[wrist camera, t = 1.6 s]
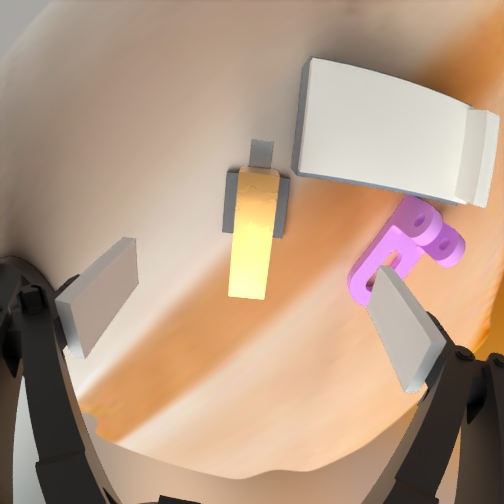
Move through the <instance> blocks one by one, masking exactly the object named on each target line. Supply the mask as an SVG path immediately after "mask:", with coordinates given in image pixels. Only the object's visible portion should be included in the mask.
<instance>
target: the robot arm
mask: <svg viewBox="0 0 504 504" xmlns="http://www.w3.org/2000/svg"><path fill="white" fill-rule="evenodd" d="M138 284H139V283H138V269H137V253H136V239H135V238H126V237H123V238H122V239H121V240H119V241H118V242H117V243H116V244H115V245H114V246H112V247H111V248H110V249H109V250H108V251H107V252H106V253H104V254H103V255H102V256H101V257H100V258H99V259H98V260H97V261H95V262H94V263H93V264H92V265H91V266H90V267H89V268H88V269H87V270H85V271H84V272H83V273H82V274H81V275H79V274H78V275H76V276H74V277H72V278H70V279H68V280H67V281H66V282H65V283H64V284H63V285H62V286H61V287H60V288H59V289H58V290H56V291H55V292H53V290H52V288H51V287H50V285H49V284H48V282H47V281H46V280H45V278H44V277H43V276H42V275H41V274H40V273H39V271H38V270H37V269H35V268H34V267H33V266H32V265H31V264H29V263H28V262H26V261H25V260H23V259H21V258H18V257H13V256H10V257H5V258H3V259H2V260H0V504H13V446H14V432H15V422H16V412H17V405H18V397H19V391H20V385H21V380H22V374H23V369H24V378H25V387H26V394H27V400H28V407H29V413H30V419H31V424H32V429H33V434H34V439H35V443H36V447H37V451H38V455H39V462H36V465H35V467H36V473H37V476H38V480H39V483H40V486H41V489H42V493H43V496H44V498H45V501H46V504H122V503H121V501H120V499H119V498H118V496H117V495H116V493H115V491H114V490H113V488H112V486H111V484H110V482H109V480H108V478H107V476H106V474H105V472H104V469H103V467H102V465H101V463H100V460H99V458H98V456H97V454H96V451H95V449H94V446H93V444H92V441H91V439H90V436H89V434H88V431H87V428H86V425H85V423H84V420H83V417H82V414H81V411H80V408H79V405H78V402H77V399H76V396H75V393H74V389H73V386H72V382H71V379H70V375H69V372H68V368H67V364H66V360H65V356H64V353H63V349H64V348H65V346H66V345H67V346H68V349H69V352H70V355H72V356H75V357H78V358H82V359H86V357H87V356H88V354H89V353H90V351H91V350H92V348H93V347H94V346H95V344H96V343H97V341H98V340H99V338H100V337H101V335H102V334H103V332H104V331H105V330H106V328H107V327H108V325H109V324H110V322H111V321H112V320H113V318H114V317H115V315H116V314H117V313H118V311H119V310H120V308H121V307H122V306H123V304H124V303H125V301H126V300H127V299H128V297H129V296H130V295H131V293H132V292H133V291H134V289H135V288H136V287H137V285H138ZM366 309H367V311H368V313H369V315H370V317H371V319H372V321H373V323H374V326H375V328H376V330H377V332H378V334H379V336H380V338H381V341H382V343H383V345H384V347H385V349H386V352H387V354H388V356H389V358H390V361H391V363H392V365H393V367H394V370H395V372H396V374H397V377H398V379H399V382H400V384H401V386H402V389H403V391H404V393H409V392H419V390H420V389H421V387H422V386H423V384H424V382H426V384H427V386H428V389H427V390H426V392H425V394H424V395H423V397H422V398H421V400H420V401H419V403H418V404H417V406H419V407H418V409H417V411H416V413H415V415H414V417H413V419H412V422H411V423H410V425H409V427H408V429H407V431H406V433H405V435H404V436H403V438H402V440H401V442H400V444H399V446H398V447H397V449H396V451H395V453H394V454H393V456H392V458H391V460H390V461H389V463H388V465H387V466H386V468H385V469H384V471H383V473H382V474H381V476H380V477H379V479H378V480H377V482H376V483H375V485H374V486H373V488H372V489H371V491H370V492H369V494H368V495H367V496H366V498H365V499H364V501H363V502H362V504H438V503H439V499H438V498H435V494H436V491H437V489H438V487H439V484H440V482H441V480H442V477H443V475H444V473H445V470H446V467H447V465H448V462H449V459H450V457H451V454H452V451H453V448H454V445H455V442H456V439H457V436H458V433H459V429H460V426H461V442H460V460H459V472H458V481H457V489H456V497H455V503H454V504H504V356H503V355H502V354H498V353H491V354H490V355H489V356H488V358H487V360H486V361H480V360H475V356H474V354H473V353H472V352H471V351H470V350H469V349H467V348H465V347H463V346H458V345H455V344H454V342H453V341H452V340H451V338H450V337H449V335H448V334H447V332H446V331H444V328H443V327H442V326H441V325H440V323H439V321H438V320H437V319H436V317H434V316H433V315H432V314H431V313H429V312H426V311H425V310H424V309H423V307H422V306H421V305H420V303H419V302H418V300H417V299H416V298H415V296H414V295H413V294H412V293H411V291H410V290H409V289H408V287H407V286H406V285H405V283H404V282H403V281H402V280H401V278H400V277H399V276H398V274H397V273H396V272H395V271H394V269H393V268H392V267H389V266H380V265H379V268H378V272H377V275H376V279H375V282H374V286H373V289H372V292H371V295H370V299H369V302H368V305H367V308H366ZM141 504H201V503H198V502H192V501H187V500H181V499H176V498H171V497H166V496H162V495H160V497H159V501H158V502H149V503H141Z"/></svg>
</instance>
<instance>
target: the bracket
mask: <svg viewBox="0 0 504 504" xmlns="http://www.w3.org/2000/svg"><path fill="white" fill-rule="evenodd" d="M395 250H396V251H398V254H397V257H396V258H395V260H394V261H393V262H392V264H391V265H390V266H389V267H392V268H393V269H394V271H395V272H396V273H397V274H398V276H399V277H400V278H401V280H403V279H404V278H405V277H406V275H407V274H408V273H409V272H410V270H411V269H412V268H413V267H414V265H415V264H416V263H417V261H418V260H419V259H420V257H421V256H422V255H423V254H424V253H427V254H429V255H430V256H431V257H432V258H433V259H434V260H435V261H436V262H437V263H439V264H440V265H441V266H442V267H445V268H447V267H451V266H453V265H455V264H456V263H457V262H458V261H459V260H460V259H461V258H462V256H463V254H464V251H465V240H464V239H463V237H462V236H461V235H460V234H459V233H458V232H457V231H456V230H455V229H453V228H452V227H450V226H449V225H447V224H446V223H444V222H443V218H442V216H441V214H440V213H439V212H438V211H437V210H436V209H435V208H434V207H433V206H432V205H430V204H428V203H426V202H425V201H423V200H421V199H419V198H417V197H415V196H413V195H408V194H407V195H406V197H405V198H404V199H403V201H402V202H401V204H400V205H399V206H398V208H397V209H396V211H395V212H394V214H393V215H392V216H391V218H390V219H389V220H388V222H387V223H386V225H385V226H384V227H383V229H382V230H381V231H380V233H379V234H378V235H377V237H376V238H375V239H374V241H373V242H372V243H371V245H370V246H369V247H368V249H367V250H366V251H365V252H364V254H363V255H362V256H361V258H360V259H359V260H358V261H357V263H356V264H355V265H354V266H353V268H352V269H351V271H350V273H349V275H348V278H347V287H348V290H349V292H350V294H351V297H352V298H353V300H354V301H355V302H356V303H358V304H360V305H363V306H367V305H368V302H369V299H370V295H371V292H372V289H373V286H374V285H373V286H370V287H367V286H366V283H367V281H368V280H369V279H370V277H371V276H372V275H373V274H374V272H375V271H376V270H377V269H378V267H379V265H381V264H382V262H383V261H384V260H385V259H386V257H387V256H388V255H389V253H391V252H392V251H395Z"/></svg>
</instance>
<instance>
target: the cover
mask: <svg viewBox="0 0 504 504" xmlns="http://www.w3.org/2000/svg"><path fill="white" fill-rule="evenodd" d="M499 120H500V117H499V116H498V115H496V114H494V113H492V112H490V111H488V110H478V109H476V108H474V107H472V106H469V105H467V104H465V103H463V102H460V101H458V100H456V99H453V98H451V97H449V96H446V95H444V94H441V93H439V92H436V91H434V90H431V89H428V88H425V87H423V86H420V85H417V84H414V83H411V82H408V81H405V80H402V79H399V78H396V77H392V76H389V75H386V74H382V73H379V72H375V71H371V70H367V69H364V68H360V67H355V66H351V65H347V64H342V63H338V62H333V61H328V60H322V59H317V58H312V60H311V61H310V69H309V78H308V88H307V97H306V106H305V115H304V124H303V132H302V141H301V149H300V157H299V164H298V170H299V172H303V173H311V174H318V175H324V176H331V177H337V178H343V179H349V180H355V181H361V182H366V183H372V184H377V185H382V186H387V187H392V188H397V189H402V190H407V191H412V192H416V193H421V194H425V195H429V196H434V197H438V198H442V199H446V200H450V201H454V202H458V203H462V204H466V205H467V202H468V203H471V204H473V205H476V206H479V207H483V208H486V204H487V199H488V195H489V190H490V185H491V180H492V174H493V168H494V162H495V155H496V148H497V140H498V131H499Z"/></svg>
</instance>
